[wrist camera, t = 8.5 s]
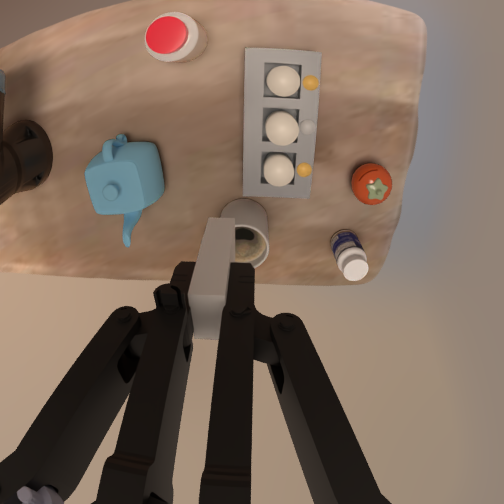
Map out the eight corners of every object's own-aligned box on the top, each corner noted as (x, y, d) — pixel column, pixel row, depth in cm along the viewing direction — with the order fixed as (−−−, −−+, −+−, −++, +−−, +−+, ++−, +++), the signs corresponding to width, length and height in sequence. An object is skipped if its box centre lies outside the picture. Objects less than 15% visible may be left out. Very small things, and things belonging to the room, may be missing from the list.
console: (244, 185, 55) (242, 196, 50) (246, 49, 41) (245, 47, 37) (305, 187, 55) (309, 199, 50) (315, 53, 41) (321, 52, 37)
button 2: (265, 93, 43) (266, 95, 39) (266, 65, 40) (267, 65, 37) (296, 95, 43) (299, 97, 39) (297, 67, 40) (300, 67, 37)
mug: (274, 207, 57) (277, 234, 49) (256, 247, 62) (256, 279, 54) (218, 188, 55) (210, 213, 47) (204, 231, 60) (195, 261, 52)
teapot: (119, 221, 59) (96, 252, 49) (97, 136, 49) (65, 154, 39) (176, 215, 58) (160, 248, 49) (158, 123, 48) (135, 138, 39)
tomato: (373, 150, 50) (389, 164, 43) (389, 182, 53) (406, 200, 47) (339, 170, 53) (351, 187, 46) (357, 201, 56) (370, 222, 49)
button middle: (264, 138, 45) (265, 145, 42) (265, 109, 43) (266, 113, 39) (294, 140, 45) (297, 146, 42) (296, 111, 43) (300, 115, 39)
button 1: (262, 177, 51) (263, 186, 47) (263, 150, 48) (264, 157, 45) (290, 178, 51) (293, 187, 47) (292, 151, 48) (295, 158, 45)
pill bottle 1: (173, 70, 43) (152, 72, 34) (153, 33, 39) (128, 27, 30) (215, 49, 41) (204, 44, 32) (196, 11, 37) (180, -2, 28)
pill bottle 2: (359, 247, 62) (373, 277, 53) (334, 256, 63) (344, 287, 55) (353, 224, 59) (368, 253, 50) (326, 234, 60) (337, 264, 52)
